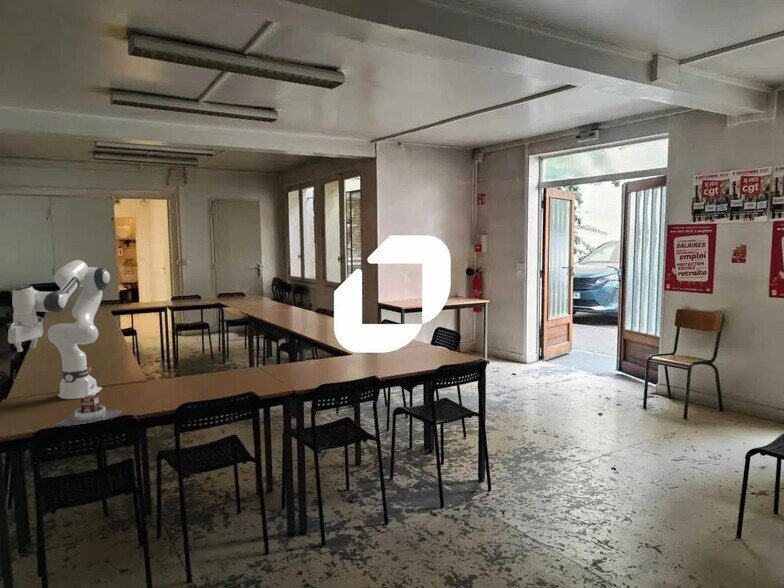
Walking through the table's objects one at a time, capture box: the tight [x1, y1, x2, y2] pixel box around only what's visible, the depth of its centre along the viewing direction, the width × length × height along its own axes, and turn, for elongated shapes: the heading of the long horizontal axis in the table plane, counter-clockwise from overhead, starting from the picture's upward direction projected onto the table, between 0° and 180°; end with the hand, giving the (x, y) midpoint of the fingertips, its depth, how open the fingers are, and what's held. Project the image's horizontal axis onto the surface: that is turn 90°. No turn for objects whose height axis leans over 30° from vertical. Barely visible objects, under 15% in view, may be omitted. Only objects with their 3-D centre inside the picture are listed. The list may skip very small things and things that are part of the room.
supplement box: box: [80, 395, 100, 413], centre depth 246 cm, size 6×5×9 cm
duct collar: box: [55, 404, 124, 427], centre depth 246 cm, size 20×20×4 cm
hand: (26, 349), depth 250 cm, fingers open, 8 cm apart
